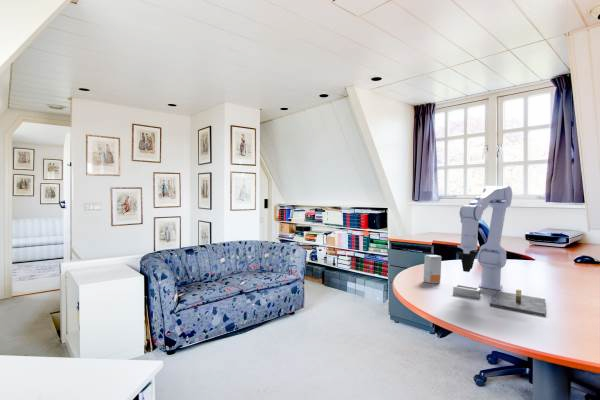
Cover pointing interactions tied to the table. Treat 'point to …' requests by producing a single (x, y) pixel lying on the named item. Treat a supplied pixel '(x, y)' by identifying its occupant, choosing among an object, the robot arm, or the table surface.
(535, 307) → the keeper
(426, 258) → the skincare box
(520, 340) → the table surface
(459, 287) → the link
